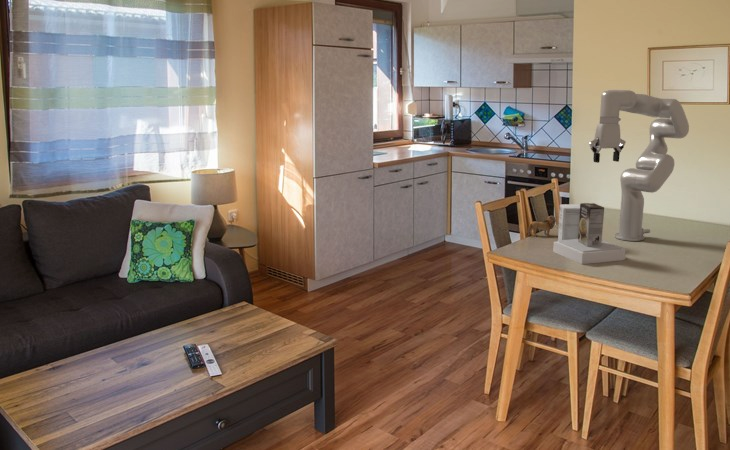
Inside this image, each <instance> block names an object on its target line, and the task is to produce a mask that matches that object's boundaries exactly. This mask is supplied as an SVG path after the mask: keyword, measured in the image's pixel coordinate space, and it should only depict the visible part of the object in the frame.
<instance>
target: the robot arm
mask: <svg viewBox="0 0 730 450" xmlns="http://www.w3.org/2000/svg"><path fill="white" fill-rule="evenodd" d="M620 111H621V112H626V113H631V114H637V115H641V116H642V115H643V116H646V117H651V118H655V119H654V120H652V121H651V123H650V125H649V144H648V145H647V146H646V148H645V149H644V151H643V152H642V153H641V154H640V156H638V159H637V160H636V162H635V167H634V168H633V167H632V168H626V169H624V170H623V171H622V173H621V174H620V180H619V181H620V190H621V200H620V210H619V211H620V213H619V222H618V223H619V225H618V232H617V233H614V238H616V239H618V240H622V241H628V242H641V241H644V240H645V239H646V237H645V234H650V233H651V229H650V228H646V229H645V228H643V218H644V206H645V197H644V195H643V193H644V192H645V193H651V194H653V193H656V192H658V191H659V190H660V189H661V187H662V186H663V185H664V184H665V183H666V181H667V180H668V178H669V177H670V176H671V175H672V173H673V171H674V168H675V159H674V158H673V156H672V155H670V154H667V153H668V145H667V143H666V140H665V139H667V138H668V139H684V138H685V137H687V135H688V134H689V131H690V125H689V122H688V119H687V115H686V113H685V110H684V107H683V105H682V104H681V103H680V101H679V100H678V99H676V98H660V97H655V96H652V95H648V94H643V93H635V92H634V91H633V90H630V89H629V90H627V89H609V90H606V91H602V93H601V96H600V112H599V123H598V124H597V125H596V129H595V133H594V138H593V140H592V141H590V142H588V145H589V147H590V150H591V151H592V154H593V163H598V164H599V163H600V158H601V153H600V152H601V150H602V149H613V150H614V151H613V153H612V154H613V155H612V161H613V162H618V163H619V162H620V154H621V152H622V150H623V149H624V147H625V145H626V143H627V142H626V140H624V139H622V138H621V126H620V124H619V123H620V121H621V120H622V119H621V117H620Z"/></svg>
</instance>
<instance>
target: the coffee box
mask: <svg viewBox="0 0 730 450" xmlns="http://www.w3.org/2000/svg"><path fill="white" fill-rule="evenodd" d="M604 216H605V207H604V206H602V205H599V204H597V203H594V202H592V203H589V202H584V203H580V216H579V232H578V242H580V243H582V244H583V245H585V246H587V247H592V246H601V242H602V239H603V229H604V228H603V227H604V219H605V218H604Z"/></svg>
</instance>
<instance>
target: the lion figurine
mask: <svg viewBox="0 0 730 450" xmlns="http://www.w3.org/2000/svg"><path fill="white" fill-rule="evenodd" d="M556 222H557V220H556V217H555V216H553V215H550V216H547V218H546V219H545V220H544V221H531V222H530V224H529V225H528V229H527V233H526V234H525V236H530V235H531V233H530V232H531V231H532V232H533V234H532V235H534V237H536V236H537V237H538V235H537V233H536V232H537V230H540V231H543V235H544V236H547V237H550V236H551V235H550V231H551V230H552V229H554V227H555V225H556ZM537 237H536V238H537Z"/></svg>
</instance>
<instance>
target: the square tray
mask: <svg viewBox="0 0 730 450" xmlns="http://www.w3.org/2000/svg"><path fill="white" fill-rule="evenodd" d="M552 248H553V249H552V250H553V251H552V253H555V254H557V255H559V256H562V257H563V258H566V259H568V260H571V261H573V262H576V263H577V264H581V265H587V264H597V263H606V262H618V261H625V260H626V248H623V247H622V246H619V245H616V244H614V243H611V242H608V241H606V240H602V242H601V246H592V247H587V246H585V245H583V244H582V243H580V242H578V239H570V240H559V241H558V240H556V241H553V247H552Z"/></svg>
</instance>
